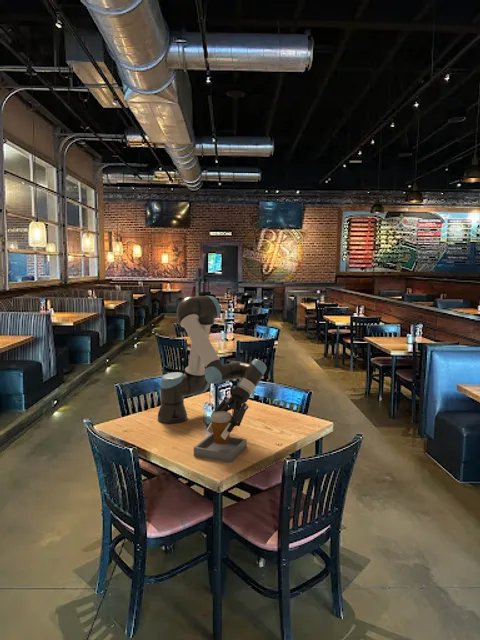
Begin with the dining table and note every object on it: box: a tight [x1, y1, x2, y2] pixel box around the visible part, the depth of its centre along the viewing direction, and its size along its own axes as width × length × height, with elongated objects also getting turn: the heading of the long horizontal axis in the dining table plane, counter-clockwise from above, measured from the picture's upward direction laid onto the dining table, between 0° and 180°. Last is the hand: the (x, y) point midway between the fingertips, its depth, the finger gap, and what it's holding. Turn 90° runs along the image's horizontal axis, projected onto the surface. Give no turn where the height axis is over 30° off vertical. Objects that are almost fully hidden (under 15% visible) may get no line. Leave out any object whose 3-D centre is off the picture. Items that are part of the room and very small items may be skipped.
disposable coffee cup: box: [209, 411, 233, 444], centre depth 185 cm, size 10×10×12 cm
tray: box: [193, 433, 248, 464], centre depth 186 cm, size 17×17×4 cm
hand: (215, 434), depth 183 cm, fingers closed on disposable coffee cup, 9 cm apart
